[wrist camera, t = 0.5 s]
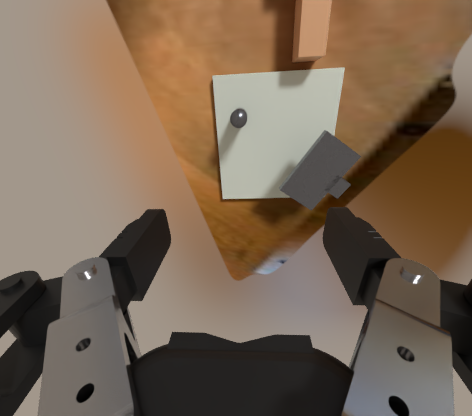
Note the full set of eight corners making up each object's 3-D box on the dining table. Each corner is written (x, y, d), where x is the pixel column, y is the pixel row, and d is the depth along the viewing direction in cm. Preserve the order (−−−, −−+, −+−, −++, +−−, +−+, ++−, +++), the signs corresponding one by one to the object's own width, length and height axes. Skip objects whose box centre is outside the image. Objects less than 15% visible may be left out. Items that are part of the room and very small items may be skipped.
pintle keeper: (233, 107, 31) (229, 110, 24) (346, 101, 30) (372, 102, 23) (237, 192, 37) (235, 211, 30) (331, 190, 36) (349, 209, 29)
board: (213, 76, 29) (212, 75, 28) (341, 68, 28) (344, 67, 27) (223, 196, 37) (222, 199, 36) (322, 194, 36) (324, 196, 35)
